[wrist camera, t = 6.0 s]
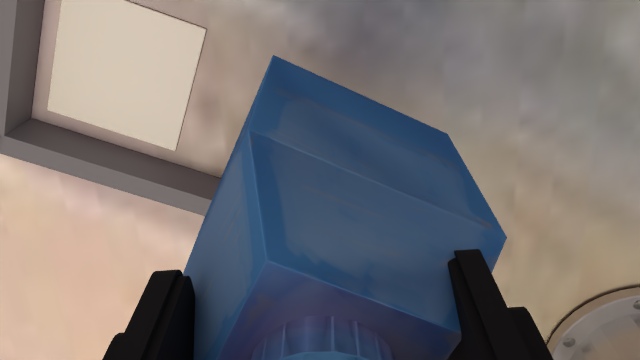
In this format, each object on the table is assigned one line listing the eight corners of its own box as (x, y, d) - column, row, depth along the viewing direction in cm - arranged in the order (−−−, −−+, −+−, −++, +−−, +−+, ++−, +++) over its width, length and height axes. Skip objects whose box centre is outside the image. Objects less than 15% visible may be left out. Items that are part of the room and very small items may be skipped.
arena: (351, -13, 29) (353, -6, 26) (270, 210, 35) (265, 234, 33) (35, -134, 27) (2, -140, 24) (9, 129, 33) (-20, 147, 30)
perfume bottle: (273, 55, 16) (176, 332, 5) (447, 134, 17) (653, 492, 7) (206, 213, 19) (51, 616, 8) (362, 273, 20) (410, 695, 9)
